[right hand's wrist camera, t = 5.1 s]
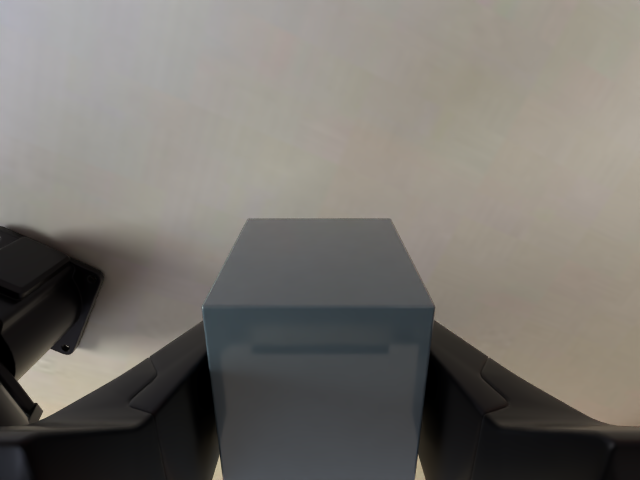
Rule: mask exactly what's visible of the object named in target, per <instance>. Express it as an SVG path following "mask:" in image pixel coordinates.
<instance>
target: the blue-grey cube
mask: <svg viewBox="0 0 640 480" xmlns="http://www.w3.org/2000/svg"><path fill="white" fill-rule="evenodd" d="M201 308H202V316H203V324H204V332H205V340H206V348H207V356H208V364H209V372H210V380H211V388H212V396H213V404H214V412H215V420H216V428H217V436H218V444H219V452H220V460H221V468H222V476H223V480H415V474H416V466H417V457H418V449H419V441H420V432H421V424H422V415H423V407H424V399H425V390H426V382H427V374H428V365H429V357H430V348H431V340H432V332H433V323H434V315H435V305H434V303H433V301H432V299H431V297H430V295H429V293H428V291H427V289H426V287H425V285H424V283H423V281H422V279H421V277H420V275H419V273H418V271H417V269H416V267H415V266H414V264H413V262H412V260H411V258H410V256H409V254H408V252H407V250H406V248H405V246H404V244H403V242H402V240H401V238H400V236H399V234H398V232H397V230H396V228H395V226H394V224H393V222H392V220H391V219H247V221H246V223H245V225H244V226H243V228H242V230H241V232H240V234H239V236H238V238H237V240H236V242H235V244H234V246H233V247H232V249H231V251H230V253H229V255H228V257H227V259H226V261H225V263H224V265H223V267H222V268H221V270H220V272H219V274H218V276H217V278H216V280H215V282H214V284H213V286H212V288H211V289H210V291H209V293H208V295H207V297H206V299H205V301H204V303H203V305H202V307H201Z"/></svg>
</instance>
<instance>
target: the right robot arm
mask: <svg viewBox="0 0 640 480" xmlns="http://www.w3.org/2000/svg"><path fill="white" fill-rule="evenodd" d="M0 237H1V238H0V480H212V478H213V475H214V472H215V468H216V465H217V461H218V458H219V455H220V452H219V444H218V436H217V428H216V420H215V412H214V404H213V396H212V388H211V380H210V372H209V364H208V356H207V348H206V340H205V332H204V324H203V321H202V322H200V323H199V324H197V325H196V326H194V327H193V328H192V329H190V330H189V331H187V332H186V333H184V334H183V335H181V336H180V337H178V338H177V339H175V340H174V341H172V342H171V343H169V344H168V345H166V346H165V347H163V348H162V349H160V350H159V351H157V352H156V353H154V354H153V355H151V356H150V357H149V358H147V359H145V360H144V361H142V362H141V363H139V364H138V365H136V366H135V367H133V368H132V369H130V370H129V371H127V372H125V373H124V374H122V375H121V376H119V377H117V378H116V379H114V380H112V381H111V382H109V383H107V384H105V385H104V386H102V387H100V388H98V389H97V390H95V391H93V392H91V393H90V394H88V395H86V396H84V397H83V398H81V399H79V400H77V401H75V402H74V403H72V404H70V405H68V406H67V407H65V408H63V409H61V410H60V411H58V412H56V413H54V414H52V415H50V416H49V417H47V418H44V419H42V420H39V419H40V417H41V415H42V413H43V410H42V409H41V408H40V406H39V405H38V404H37V403H34V402H33V401H32V400H31V399H30V397H29V396H28V395H27V393H26V392H25V391H24V389H23V388H22V387H21V385H20V384H19V383H18V380H19V379H20V378H21V377H22V376H23V375H24V374H25V373H26V372H27V371H28V370H29V369H30V368H31V367H32V366H33V365H34V364H35V363H36V362H37V361H38V360H39V359H40V358H41V357H42V356H43V355H44V354H45V353H46V352H47V351H48V350H49V349H53V350H55V351H57V352H60V353H62V354H66V355H69V354H71V353H73V352H74V350H75V349H76V348H77V346H78V344H79V341H80V338H81V336H82V333H83V331H84V328H85V326H86V323H87V321H88V318H89V316H90V313H91V311H92V308H93V306H94V303H95V300H96V298H97V295H98V293H99V290H100V288H101V285H102V283H103V280H104V276H103V273H102V272H101V271H99V270H98V269H96V268H93V267H91V266H89V265H87V264H85V263H82V262H80V261H78V260H76V259H73V258H71V257H69V256H68V255H66V254H64V253H62V252H59V251H57V250H55V249H53V248H51V247H48V246H46V245H44V244H42V243H39V242H37V241H35V240H33V239H31V238H28V237H25V236H22V235H20V234H18V233H16V232H14V231H11V230H9V229H7V228H5V227H2V226H0ZM91 275H92V276H94V277H95V278H96V280H94V279H92V277H91ZM66 345H67V346H69V347H67V346H66ZM418 455H419V458H420V462H421V465H422V469H423V472H424V475H425V479H426V480H640V427H634V426H615V425H610V424H606V423H603V422H600V421H597V420H595V419H592V418H590V417H588V416H586V415H585V414H583V413H581V412H579V411H577V410H576V409H574V408H572V407H570V406H569V405H567V404H565V403H563V402H562V401H560V400H558V399H556V398H555V397H553V396H551V395H549V394H548V393H546V392H544V391H542V390H540V389H539V388H537V387H535V386H534V385H532V384H530V383H528V382H527V381H525V380H523V379H522V378H520V377H518V376H517V375H515V374H514V373H512V372H510V371H509V370H507V369H506V368H504V367H503V366H501V365H500V364H498V363H497V362H495V361H494V360H492V359H491V358H488V356H486V355H485V354H483V353H482V352H480V351H479V350H477V349H476V348H474V347H473V346H472V345H470V344H469V343H467V342H466V341H464V340H463V339H461V338H460V337H458V336H457V335H455V334H454V333H452V332H451V331H449V330H448V329H446V328H445V327H444V326H442V325H441V324H439V323H438V322H436V321H435V320H434V323H433V332H432V340H431V348H430V357H429V365H428V374H427V382H426V390H425V399H424V407H423V415H422V424H421V432H420V441H419V449H418Z"/></svg>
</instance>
